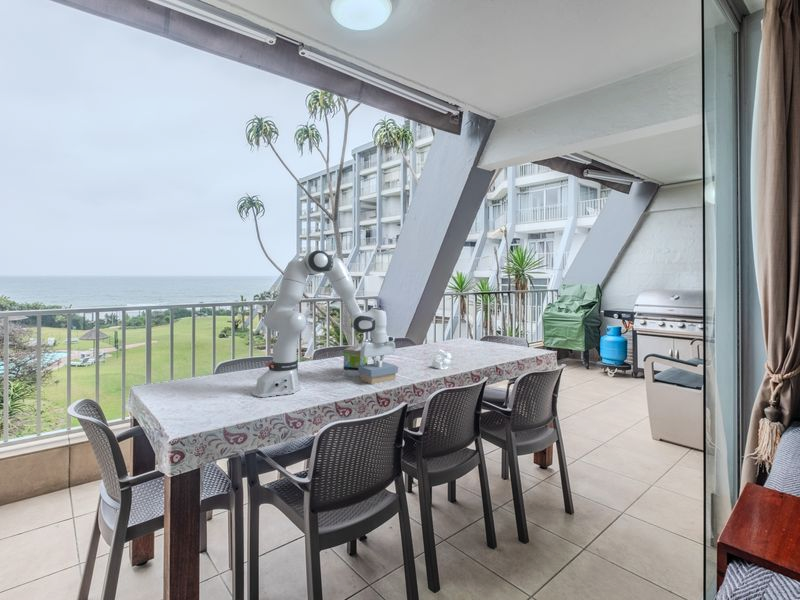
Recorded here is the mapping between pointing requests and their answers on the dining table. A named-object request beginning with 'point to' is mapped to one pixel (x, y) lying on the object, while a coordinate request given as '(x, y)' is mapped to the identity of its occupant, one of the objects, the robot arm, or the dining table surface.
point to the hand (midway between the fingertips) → (378, 364)
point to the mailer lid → (378, 369)
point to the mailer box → (378, 378)
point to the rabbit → (441, 360)
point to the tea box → (353, 361)
